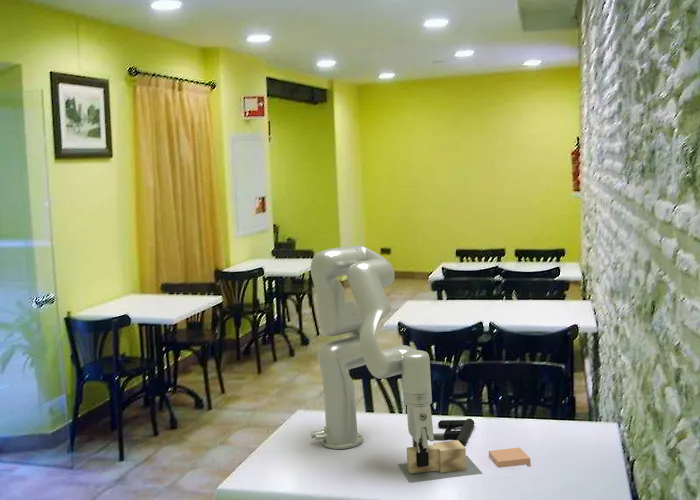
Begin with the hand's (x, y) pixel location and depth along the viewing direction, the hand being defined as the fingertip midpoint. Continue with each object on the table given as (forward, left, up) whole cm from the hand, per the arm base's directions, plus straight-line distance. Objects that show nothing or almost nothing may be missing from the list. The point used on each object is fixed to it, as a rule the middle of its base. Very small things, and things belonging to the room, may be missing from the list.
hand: (421, 463), depth 200 cm
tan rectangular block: (+20, 0, -2) cm, 20 cm away
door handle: (+15, +25, -3) cm, 29 cm away
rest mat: (+5, 0, -3) cm, 6 cm away
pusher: (+4, 0, -2) cm, 5 cm away
